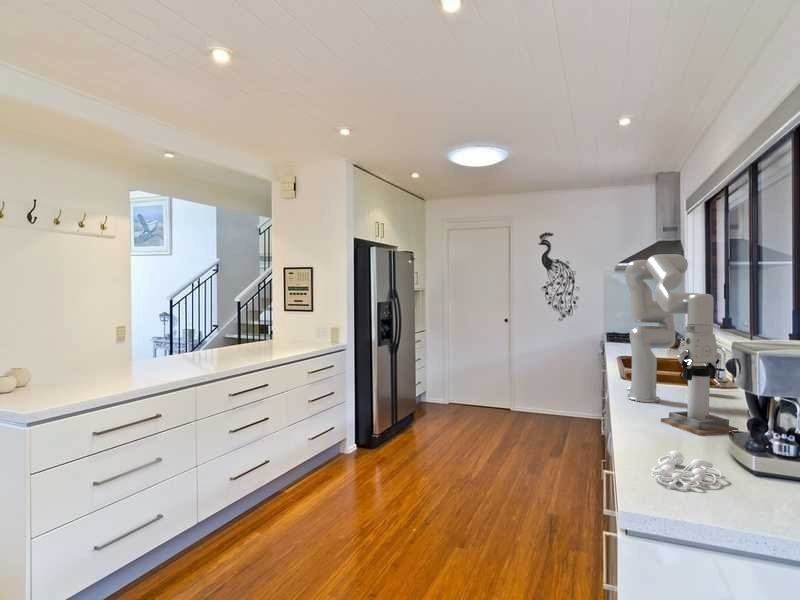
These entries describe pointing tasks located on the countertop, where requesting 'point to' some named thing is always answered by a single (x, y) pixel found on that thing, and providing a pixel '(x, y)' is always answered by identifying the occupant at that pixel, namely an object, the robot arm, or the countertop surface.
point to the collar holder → (698, 423)
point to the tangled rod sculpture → (683, 471)
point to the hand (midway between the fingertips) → (698, 378)
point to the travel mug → (699, 393)
